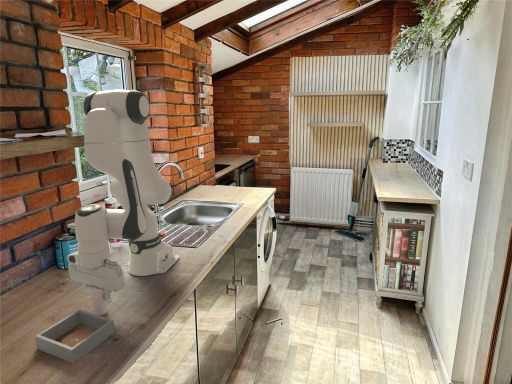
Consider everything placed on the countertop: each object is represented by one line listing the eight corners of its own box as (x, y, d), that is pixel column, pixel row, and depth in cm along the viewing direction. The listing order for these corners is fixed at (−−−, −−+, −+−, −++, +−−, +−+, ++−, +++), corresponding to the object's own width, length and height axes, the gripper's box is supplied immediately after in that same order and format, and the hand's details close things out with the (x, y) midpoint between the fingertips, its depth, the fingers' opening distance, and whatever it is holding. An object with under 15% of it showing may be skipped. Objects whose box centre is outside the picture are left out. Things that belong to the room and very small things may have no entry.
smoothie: (114, 306, 115) (110, 267, 112) (107, 317, 109) (102, 277, 106) (94, 306, 115) (90, 268, 112) (86, 318, 109) (81, 277, 106)
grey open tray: (80, 320, 108) (79, 309, 107) (114, 332, 102) (113, 320, 101) (37, 348, 95) (35, 336, 94) (73, 363, 90) (71, 350, 89)
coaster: (79, 328, 104) (79, 327, 104) (99, 335, 101) (98, 334, 101) (54, 345, 97) (54, 343, 96) (75, 353, 93) (75, 351, 93)
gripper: (127, 258, 106) (131, 299, 110) (79, 248, 114) (84, 286, 118) (112, 267, 101) (116, 309, 104) (62, 255, 109) (68, 295, 112)
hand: (99, 297), depth 111 cm, fingers closed on smoothie, 5 cm apart
